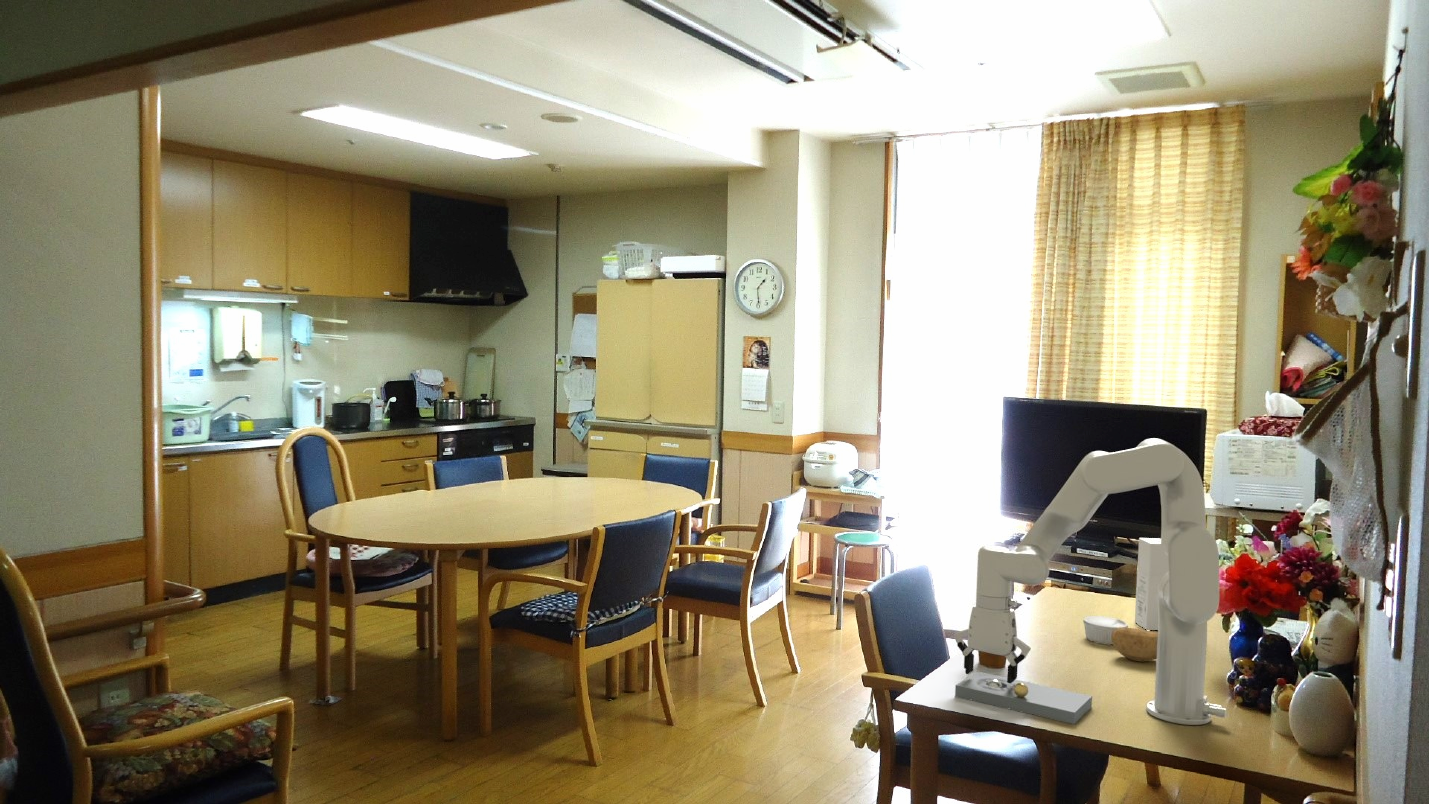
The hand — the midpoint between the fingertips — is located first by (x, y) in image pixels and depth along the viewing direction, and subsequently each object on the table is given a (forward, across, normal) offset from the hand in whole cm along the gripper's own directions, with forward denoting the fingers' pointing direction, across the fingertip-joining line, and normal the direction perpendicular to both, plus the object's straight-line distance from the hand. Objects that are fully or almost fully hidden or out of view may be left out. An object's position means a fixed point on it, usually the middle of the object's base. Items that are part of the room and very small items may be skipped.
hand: (989, 677), depth 223 cm
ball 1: (+2, -1, 0) cm, 2 cm away
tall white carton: (+4, -17, -88) cm, 90 cm away
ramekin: (+4, -9, -64) cm, 65 cm away
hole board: (+4, -8, 0) cm, 9 cm away
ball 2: (0, -9, +4) cm, 10 cm away
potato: (+4, -21, -51) cm, 55 cm away
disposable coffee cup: (+4, +7, -22) cm, 24 cm away
